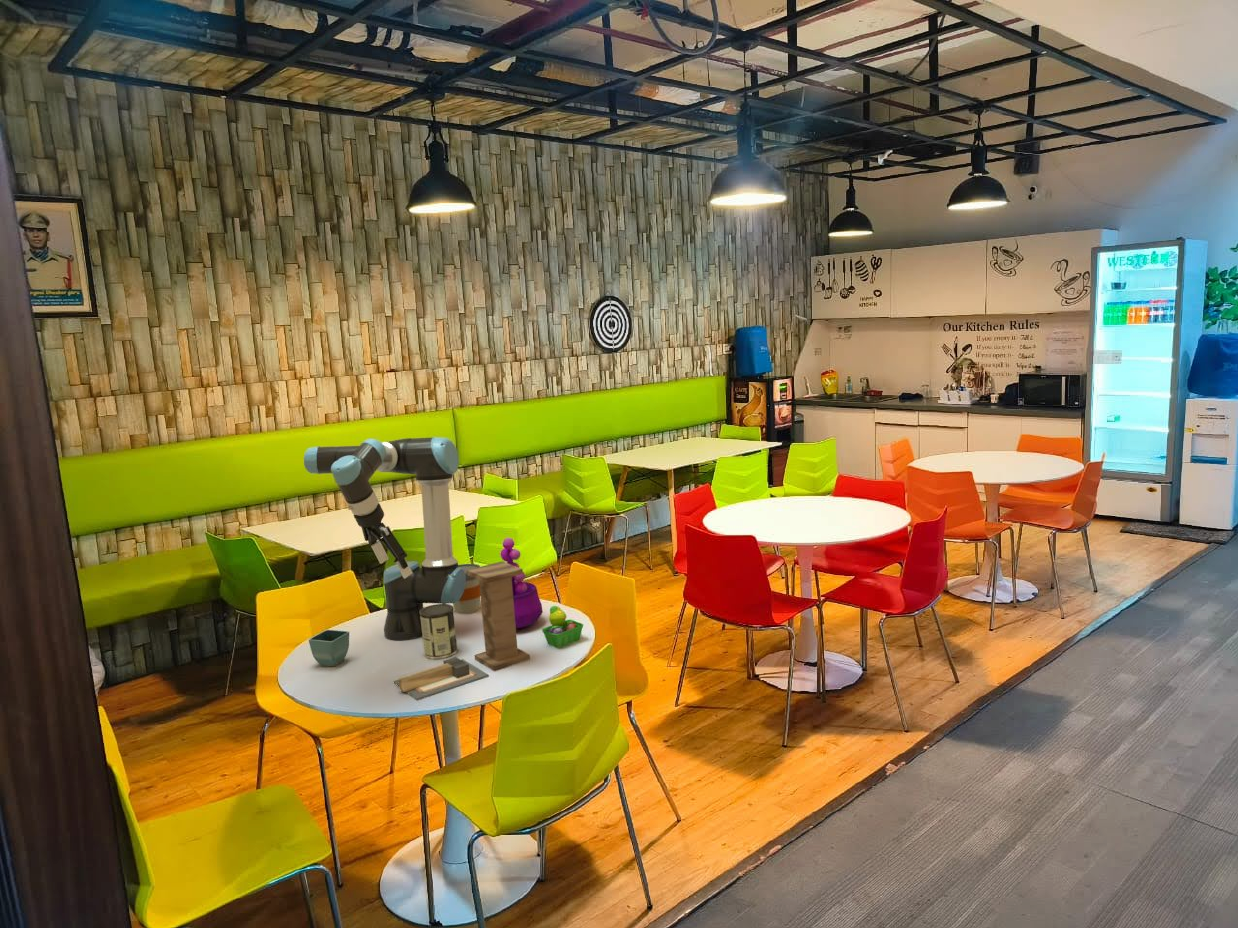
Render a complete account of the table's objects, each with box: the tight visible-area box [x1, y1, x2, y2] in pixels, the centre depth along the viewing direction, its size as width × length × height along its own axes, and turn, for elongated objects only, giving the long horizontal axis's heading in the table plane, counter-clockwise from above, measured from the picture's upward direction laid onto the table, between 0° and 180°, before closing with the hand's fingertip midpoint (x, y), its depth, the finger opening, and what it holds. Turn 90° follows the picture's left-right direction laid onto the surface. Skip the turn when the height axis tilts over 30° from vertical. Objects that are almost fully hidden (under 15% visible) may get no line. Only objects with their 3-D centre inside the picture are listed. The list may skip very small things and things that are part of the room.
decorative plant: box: [499, 537, 543, 629], centre depth 279 cm, size 19×18×30 cm
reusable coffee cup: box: [452, 563, 481, 615], centre depth 300 cm, size 13×13×15 cm
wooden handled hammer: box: [398, 656, 470, 693], centre depth 239 cm, size 8×19×3 cm, turn 129°
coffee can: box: [419, 603, 458, 660], centre depth 261 cm, size 10×10×14 cm
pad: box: [392, 658, 490, 701], centre depth 241 cm, size 16×22×1 cm
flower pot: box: [308, 629, 350, 667], centre depth 258 cm, size 9×9×9 cm
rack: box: [467, 560, 531, 672], centre depth 251 cm, size 12×12×28 cm
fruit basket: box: [541, 605, 584, 649], centre depth 264 cm, size 11×9×11 cm
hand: (396, 568), depth 241 cm, fingers open, 13 cm apart
